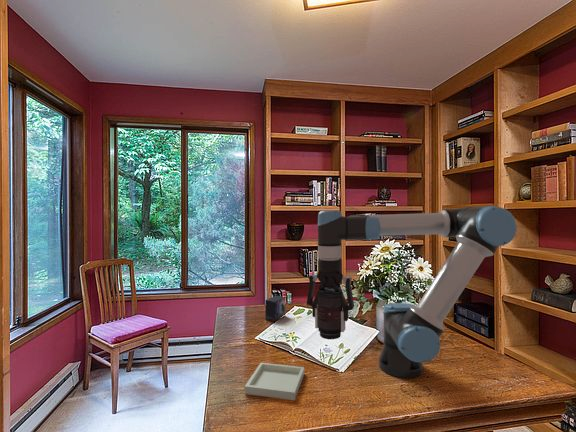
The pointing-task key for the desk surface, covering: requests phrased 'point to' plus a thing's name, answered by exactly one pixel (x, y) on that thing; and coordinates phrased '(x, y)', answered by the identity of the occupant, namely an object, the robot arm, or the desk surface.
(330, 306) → the camera lens
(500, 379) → the desk surface
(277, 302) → the small box
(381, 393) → the desk surface
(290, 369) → the tray
